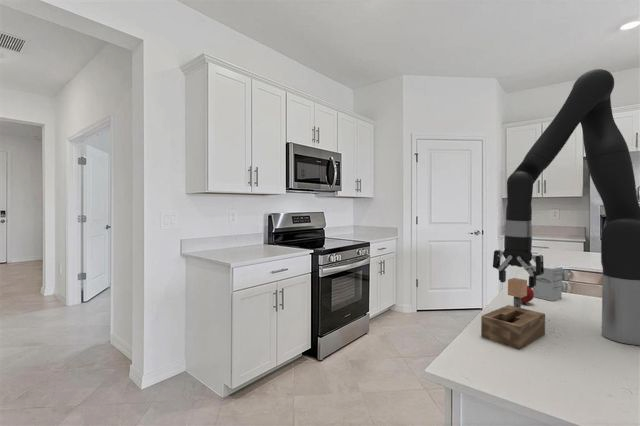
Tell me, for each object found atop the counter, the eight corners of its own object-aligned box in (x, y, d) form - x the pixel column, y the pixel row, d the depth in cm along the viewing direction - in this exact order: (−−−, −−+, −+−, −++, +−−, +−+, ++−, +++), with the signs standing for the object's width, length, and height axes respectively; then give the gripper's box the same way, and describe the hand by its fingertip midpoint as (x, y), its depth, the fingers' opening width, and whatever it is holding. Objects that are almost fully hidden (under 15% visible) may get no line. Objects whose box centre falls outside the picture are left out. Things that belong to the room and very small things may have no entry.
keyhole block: (544, 334, 94) (545, 313, 93) (519, 349, 84) (519, 326, 84) (508, 324, 102) (508, 305, 102) (481, 336, 92) (481, 315, 92)
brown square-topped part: (526, 320, 105) (527, 280, 104) (520, 323, 102) (521, 282, 102) (513, 316, 108) (513, 277, 108) (507, 319, 106) (507, 279, 105)
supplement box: (531, 296, 130) (532, 265, 130) (542, 294, 134) (542, 263, 134) (552, 301, 124) (552, 268, 124) (562, 298, 127) (563, 266, 127)
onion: (532, 307, 118) (533, 285, 118) (514, 304, 121) (514, 282, 121) (534, 303, 122) (534, 281, 122) (516, 300, 126) (516, 279, 126)
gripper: (548, 235, 101) (546, 288, 102) (500, 232, 112) (499, 278, 113) (537, 237, 97) (536, 292, 97) (489, 233, 108) (488, 281, 109)
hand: (516, 284), depth 105 cm, fingers open, 8 cm apart
